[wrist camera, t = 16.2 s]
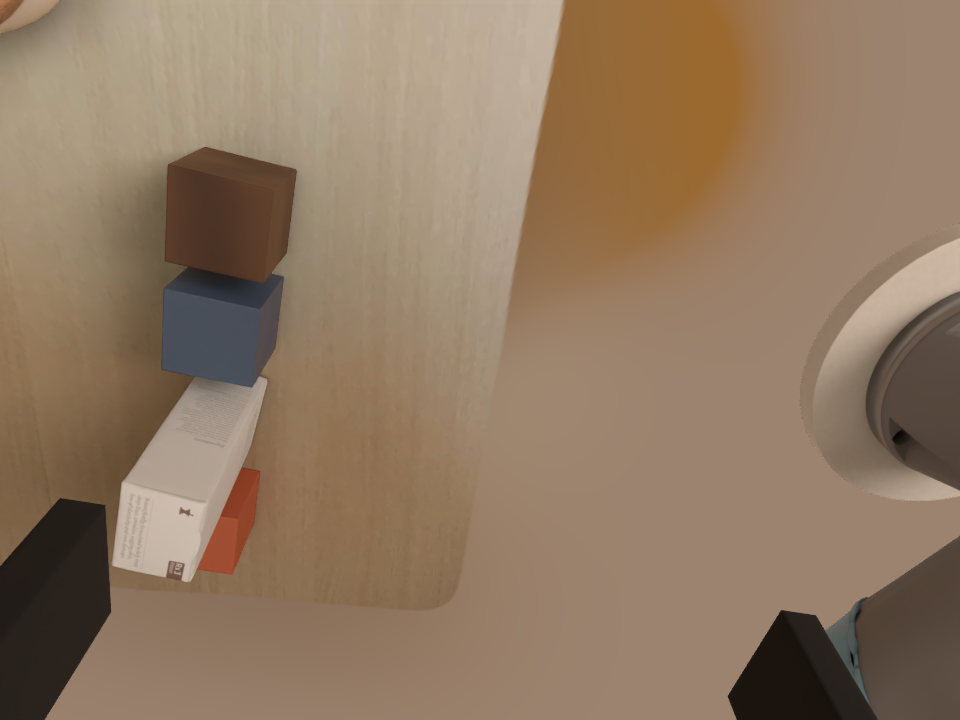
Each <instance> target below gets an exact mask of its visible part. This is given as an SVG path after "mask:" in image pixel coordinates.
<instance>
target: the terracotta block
mask: <svg viewBox="0 0 960 720" xmlns="http://www.w3.org/2000/svg"><path fill="white" fill-rule="evenodd" d="M259 475H260V472H259V471H254V470H249V469H243V468H241V470H240V472H239V474H238V477H237V479H236V481H235V483H234V485H233V488H232V490H231V492H230V495H229V497H228V499H227V501H226V504H225V506H224V508H223V511H222V513H221V515H220V518H219V520H218V522H217V524H216V527H215V529H214V531H213V534H212V536H211V538H210V540H209V543H208V545H207V547H206V549H205V552H204V554H203V556H202V558H201V561H200V563H199V565H198V567H197V569H199V570H205V571H212V572H218V573H224V574H231V575H232V574H233V572H234V569H235V567H236V565H237V562H238V560H239V557H240V555H241V553H242V550H243V548H244V545H245V543H246V541H247V538H248V536H249V533H250V531H251V529H252V526H253V524H254V516H255V508H256V500H257V491H258V483H259Z"/></svg>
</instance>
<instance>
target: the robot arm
mask: <svg viewBox="0 0 960 720" xmlns="http://www.w3.org/2000/svg"><path fill="white" fill-rule="evenodd" d="M866 414H867V419H868V423H869V426H870V428H871V430H872V432H873V434H874V435H875V437H876V438H877V439H878V441H879V442H880V443H881V444H882V445H883V446H884V447H885V448H886V449H887V450H888V451H889V452H890V453H891V454H892V455H893V456H894V457H895V458H896V459H897V460H898V461H900V462H901V463H902V464H904V465H905V466H907V467H909V468H911V469H913V470H915V471H917V472H920V473H922V474H924V475H926V476H928V477H931V478H933V479H935V480H937V481H940V482H942V483H944V484H946V485H948V486H951V487H953V488H955V489H957V490H959V491H960V291H959V292H957V293H954V294H952V295H950V296H948V297H946V298H944V299H943V300H941V301H939V302H937V303H936V304H934V305H932V306H931V307H929V308H928V309H926V310H925V311H924V312H922V313H921V314H920V315H918V316H917V317H916V318H915V319H913V320H912V321H911V322H910V323H909V324H908V325H907V326H906V327H904V328H903V329H902V330H901V331H900V333H899V334H898V335H897V336H896V337H895V338H894V339H893V340H892V342H891V343H890V344H889V345H888V347H887V348H886V349H885V351H884V352H883V354H882V355H881V357H880V359H879V361H878V362H877V364H876V366H875V368H874V371H873V373H872V375H871V378H870V381H869V384H868V389H867V394H866ZM110 602H111V601H110V583H109V565H108V547H107V529H106V511H105V505H101V504H94V503H88V502H82V501H75V500H69V499H62V498H60V499H59V500H58V501H57V502H56V503H55V505H54V506H53V507H52V508H51V509H50V510H49V511H48V513H47V514H46V515H45V516H44V517H43V518H42V519H41V520H40V522H39V523H38V524H37V525H36V526H35V527H34V528H33V530H32V531H31V532H30V533H29V534H28V535H27V536H26V538H25V539H24V540H23V541H22V542H21V543H20V544H19V546H18V547H17V548H16V549H15V550H14V551H13V552H12V554H11V555H10V556H9V557H8V558H7V559H6V560H5V561H4V563H3V564H2V565H1V566H0V720H45V718H46V717H47V715H48V713H49V712H50V710H51V709H52V707H53V705H54V704H55V702H56V700H57V699H58V697H59V696H60V694H61V692H62V690H63V689H64V687H65V686H66V684H67V683H68V681H69V679H70V678H71V676H72V674H73V673H74V671H75V670H76V668H77V666H78V665H79V663H80V662H81V660H82V658H83V657H84V655H85V653H86V652H87V650H88V648H89V647H90V645H91V644H92V642H93V640H94V639H95V637H96V636H97V634H98V632H99V631H100V629H101V627H102V626H103V624H104V623H105V621H106V619H107V618H108V616H109V614H110V613H111V603H110ZM728 698H729V701H730V704H731V706H732V708H733V711H734V714H735V716H736V719H737V720H960V536H959V537H958V538H956V539H955V540H953V541H952V542H950V543H949V544H947V545H946V546H944V547H943V548H942V549H940V550H939V551H937V552H936V553H934V554H933V555H931V556H930V557H929V558H927V559H925V560H924V561H923V562H921V563H920V564H918V565H917V566H915V567H914V568H912V569H911V570H910V571H908V572H906V573H905V574H904V575H902V576H901V577H899V578H898V579H896V580H895V581H893V582H892V583H890V584H889V585H887V586H886V587H884V588H883V589H881V590H880V591H878V592H876V593H875V594H873V595H872V596H870V597H869V598H868V597H865V598H863V599H861V600H859V601H858V602H856V603H855V604H854V606H853V607H852V609H851V611H850V612H848V613H847V614H846V615H845V616H843V617H842V618H841V619H840V620H838V621H837V622H836V623H835V624H833V625H832V626H831V627H829V628H828V629H827V630H824V628H823V627H822V625H821V623H820V622H819V620H818V618H817V617H816V615H809V614H803V613H796V612H790V611H784V610H781V611H780V613H779V615H778V616H777V618H776V619H775V621H774V623H773V624H772V626H771V627H770V629H769V631H768V632H767V634H766V635H765V637H764V639H763V640H762V642H761V643H760V645H759V647H758V648H757V650H756V652H755V653H754V655H753V656H752V658H751V660H750V661H749V663H748V664H747V666H746V668H745V669H744V671H743V672H742V674H741V676H740V677H739V679H738V680H737V682H736V683H735V685H734V687H733V688H732V690H731V692H730V693H729V695H728Z"/></svg>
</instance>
